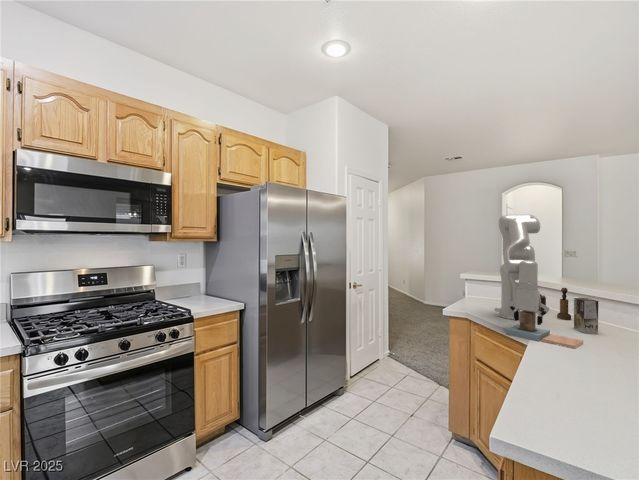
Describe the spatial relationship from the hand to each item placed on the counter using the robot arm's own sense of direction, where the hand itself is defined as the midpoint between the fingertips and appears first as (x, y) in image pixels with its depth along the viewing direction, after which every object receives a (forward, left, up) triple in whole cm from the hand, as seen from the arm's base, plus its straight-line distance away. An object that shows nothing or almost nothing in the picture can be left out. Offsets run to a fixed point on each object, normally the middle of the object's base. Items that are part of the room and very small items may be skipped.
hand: (527, 322), depth 155 cm
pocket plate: (0, 0, -6) cm, 6 cm away
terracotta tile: (+14, 0, -6) cm, 15 cm away
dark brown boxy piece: (-18, +63, -6) cm, 66 cm away
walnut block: (0, 0, -6) cm, 6 cm away
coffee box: (+15, +31, -6) cm, 35 cm away
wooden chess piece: (0, +53, -6) cm, 54 cm away
